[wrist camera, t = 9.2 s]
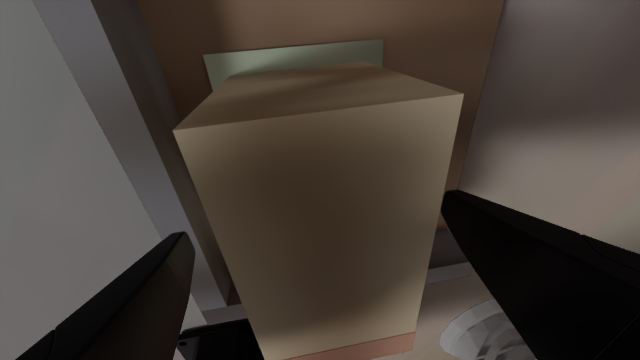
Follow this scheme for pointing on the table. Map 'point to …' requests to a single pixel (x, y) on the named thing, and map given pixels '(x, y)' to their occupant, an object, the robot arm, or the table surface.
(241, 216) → the maple block
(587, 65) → the table surface
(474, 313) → the french press
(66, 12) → the tray
